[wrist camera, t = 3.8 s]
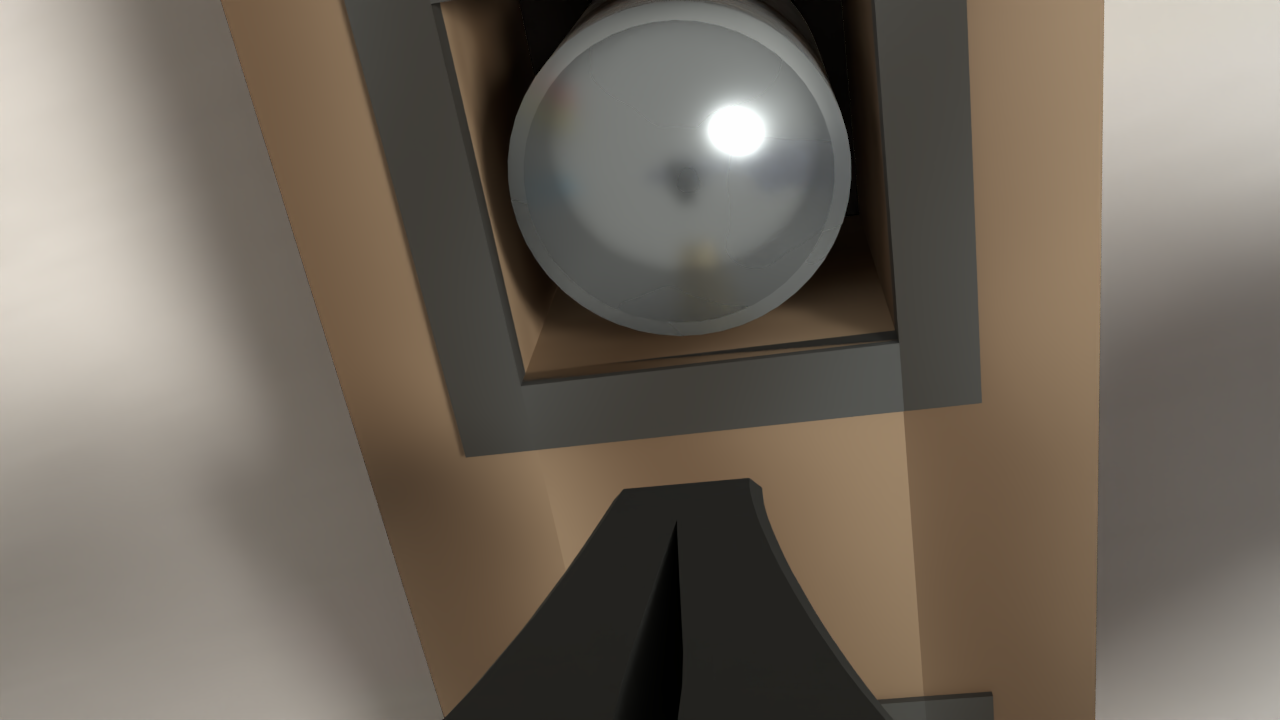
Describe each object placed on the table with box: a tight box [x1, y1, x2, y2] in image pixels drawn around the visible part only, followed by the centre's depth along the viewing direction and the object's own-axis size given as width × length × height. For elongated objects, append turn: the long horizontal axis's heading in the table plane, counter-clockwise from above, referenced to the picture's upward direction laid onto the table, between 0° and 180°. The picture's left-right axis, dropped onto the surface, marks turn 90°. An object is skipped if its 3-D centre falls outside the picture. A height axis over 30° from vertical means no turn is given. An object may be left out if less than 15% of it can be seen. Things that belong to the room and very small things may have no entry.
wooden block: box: [221, 0, 1104, 720], centre depth 18 cm, size 10×24×5 cm, turn 9°
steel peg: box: [508, 0, 851, 336], centre depth 16 cm, size 4×4×4 cm
